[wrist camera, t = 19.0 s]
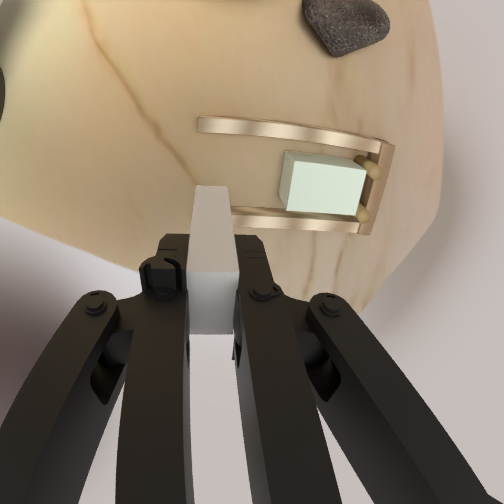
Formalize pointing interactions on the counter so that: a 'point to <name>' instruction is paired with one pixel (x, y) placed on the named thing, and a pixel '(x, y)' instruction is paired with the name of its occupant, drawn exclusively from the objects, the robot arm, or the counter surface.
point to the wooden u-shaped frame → (377, 148)
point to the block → (320, 183)
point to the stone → (347, 23)
